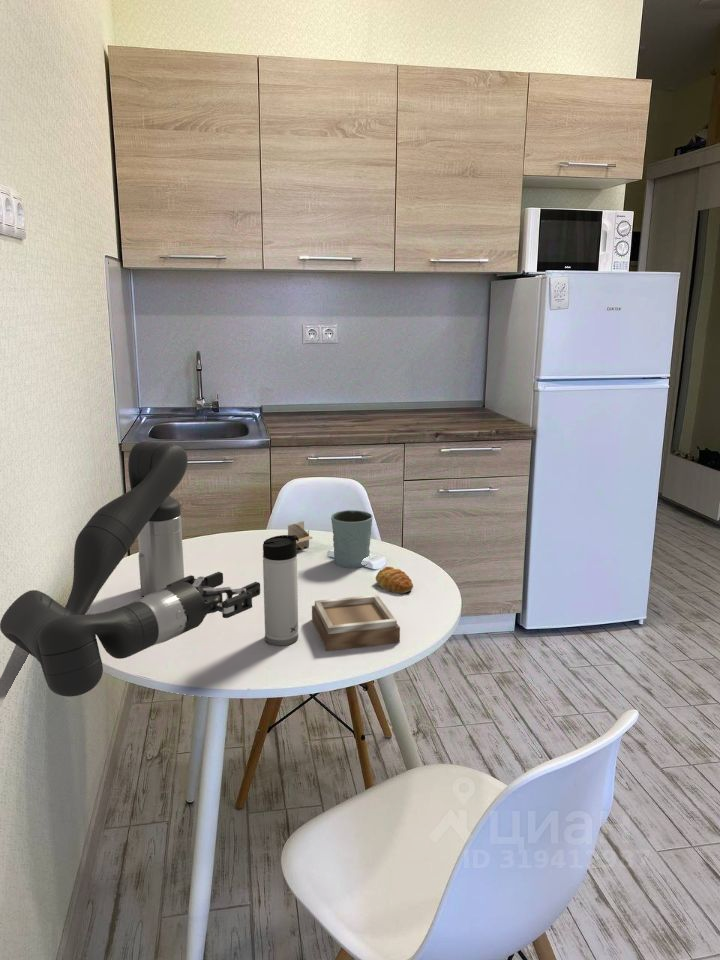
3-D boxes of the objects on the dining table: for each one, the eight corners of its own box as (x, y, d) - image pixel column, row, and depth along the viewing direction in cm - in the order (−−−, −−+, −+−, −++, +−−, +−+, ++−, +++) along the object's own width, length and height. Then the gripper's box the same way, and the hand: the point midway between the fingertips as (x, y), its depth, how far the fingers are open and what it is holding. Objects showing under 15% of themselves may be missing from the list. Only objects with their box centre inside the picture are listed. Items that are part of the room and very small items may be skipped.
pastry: (420, 591, 158) (421, 575, 157) (396, 598, 155) (396, 581, 154) (395, 578, 166) (395, 563, 165) (371, 584, 162) (372, 568, 161)
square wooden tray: (326, 650, 130) (326, 629, 129) (312, 619, 143) (311, 600, 142) (399, 642, 133) (400, 621, 132) (378, 612, 146) (379, 593, 145)
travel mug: (303, 643, 132) (301, 541, 128) (268, 648, 131) (265, 544, 126) (296, 629, 138) (294, 531, 134) (262, 633, 136) (259, 534, 132)
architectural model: (313, 550, 186) (313, 523, 184) (293, 556, 181) (293, 529, 179) (304, 547, 188) (303, 520, 186) (284, 553, 183) (284, 526, 181)
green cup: (367, 554, 182) (367, 509, 179) (376, 567, 172) (377, 520, 169) (328, 556, 180) (327, 511, 177) (335, 570, 170) (335, 522, 167)
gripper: (137, 625, 113) (210, 594, 126) (200, 648, 105) (272, 612, 118) (134, 581, 111) (209, 553, 124) (198, 600, 104) (271, 569, 117)
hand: (239, 582), depth 121 cm, fingers open, 8 cm apart
